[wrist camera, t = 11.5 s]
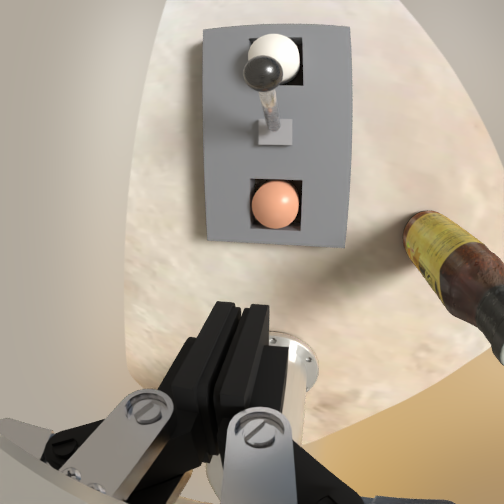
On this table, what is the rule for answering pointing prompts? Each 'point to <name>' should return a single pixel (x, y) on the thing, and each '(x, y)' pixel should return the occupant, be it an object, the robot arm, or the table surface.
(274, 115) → the toggle lever
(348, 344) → the table surface
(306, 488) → the robot arm
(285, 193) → the terracotta button
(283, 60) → the offwhite button
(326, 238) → the control panel
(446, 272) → the sauce bottle
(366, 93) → the table surface
